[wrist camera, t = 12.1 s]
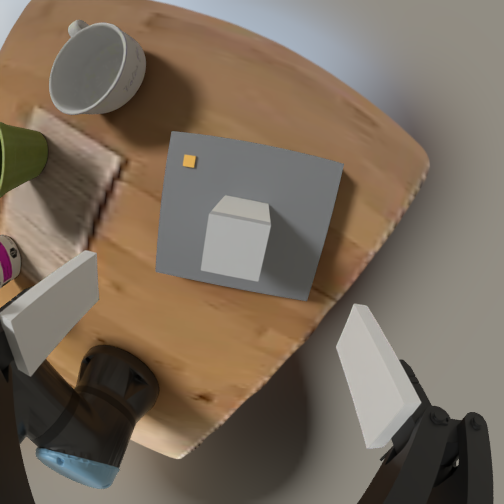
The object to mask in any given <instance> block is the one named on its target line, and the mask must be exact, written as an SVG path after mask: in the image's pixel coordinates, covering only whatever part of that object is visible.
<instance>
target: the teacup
mask: <svg viewBox="0 0 504 504" xmlns="http://www.w3.org/2000/svg"><path fill="white" fill-rule="evenodd" d="M68 32H69V35H70V36H71V38H70V39H69V40H68V41H67V43H66V44H65V45H64V46H63V48H62V49H61V50H60V52H59V54H58V55H57V57H56V59H55V61H54V64H53V67H52V70H51V74H50V80H49V91H50V96H51V99H52V102H53V103H54V105H55V106H56V108H58V109H59V110H60V111H61V112H63V113H66V114H69V115H77V114H103V113H108V112H111V111H114V110H116V109H118V108H120V107H121V106H123V105H124V104H126V103H127V102H128V101H129V100H130V99H131V98H132V97H133V96H134V95H135V93H136V92H137V90H138V89H139V87H140V85H141V83H142V81H143V78H144V75H145V70H146V59H145V54H144V52H143V49H142V48H141V46H140V45H139V43H138V42H137V41H135V40H134V39H133V38H132V37H130V36H129V35H128V34H126V33H124V32H123V31H121V30H120V29H119V28H118V27H117V26H115V25H113V24H110V23H96V24H93V25H90V26H89V25H88V24H87V23H86V22H84V21H82V20H76V21H74V22H73V23H72V24H71V25H70V26H69V28H68Z"/></svg>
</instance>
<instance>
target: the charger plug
mask: <svg viewBox="0 0 504 504" xmlns="http://www.w3.org/2000/svg"><path fill="white" fill-rule="evenodd" d="M270 228H271V222H270V213H269V205H268V203H263V202H258V201H253V200H248V199H243V198H238V197H232V196H227V195H225V196H224V197H223V198H222V199H221V200H220V202H219V203H218V204H217V205H216V206H215V207H214V208H213V210H212V211H211V212H210V213H209V217H208V224H207V230H206V237H205V244H204V250H203V257H202V265H201V270H202V271H207V272H212V273H216V274H221V275H226V276H231V277H237V278H242V279H247V280H252V281H257V282H258V281H259V276H260V272H261V268H262V263H263V259H264V254H265V250H266V246H267V241H268V237H269V232H270Z"/></svg>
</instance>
